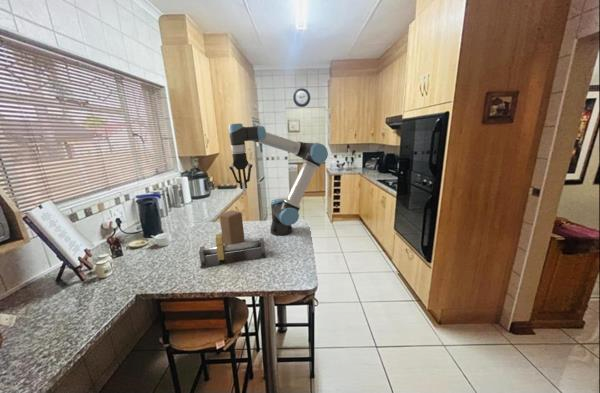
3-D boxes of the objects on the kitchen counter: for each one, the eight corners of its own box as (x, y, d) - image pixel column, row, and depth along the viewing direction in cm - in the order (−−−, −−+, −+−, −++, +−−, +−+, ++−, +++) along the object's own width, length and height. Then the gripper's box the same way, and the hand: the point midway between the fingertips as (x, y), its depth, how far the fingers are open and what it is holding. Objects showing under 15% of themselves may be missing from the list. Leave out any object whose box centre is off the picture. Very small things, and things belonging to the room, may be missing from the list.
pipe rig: (263, 248, 147) (262, 235, 145) (266, 257, 136) (264, 243, 134) (203, 257, 139) (201, 244, 137) (200, 268, 128) (198, 254, 126)
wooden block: (232, 248, 150) (228, 216, 144) (222, 244, 155) (218, 213, 150) (245, 241, 157) (242, 212, 152) (235, 238, 163) (231, 209, 158)
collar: (224, 252, 140) (222, 232, 137) (224, 259, 132) (221, 238, 129) (219, 253, 139) (216, 233, 136) (218, 260, 131) (215, 239, 128)
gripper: (250, 151, 141) (255, 191, 148) (226, 153, 138) (232, 194, 144) (251, 152, 135) (256, 194, 141) (227, 154, 131) (233, 197, 137)
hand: (244, 194), depth 142 cm, fingers closed
